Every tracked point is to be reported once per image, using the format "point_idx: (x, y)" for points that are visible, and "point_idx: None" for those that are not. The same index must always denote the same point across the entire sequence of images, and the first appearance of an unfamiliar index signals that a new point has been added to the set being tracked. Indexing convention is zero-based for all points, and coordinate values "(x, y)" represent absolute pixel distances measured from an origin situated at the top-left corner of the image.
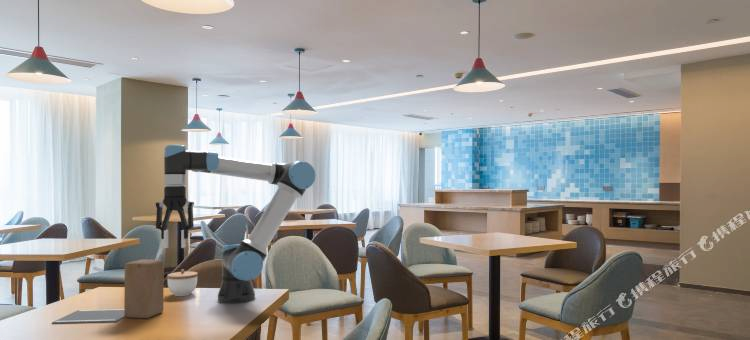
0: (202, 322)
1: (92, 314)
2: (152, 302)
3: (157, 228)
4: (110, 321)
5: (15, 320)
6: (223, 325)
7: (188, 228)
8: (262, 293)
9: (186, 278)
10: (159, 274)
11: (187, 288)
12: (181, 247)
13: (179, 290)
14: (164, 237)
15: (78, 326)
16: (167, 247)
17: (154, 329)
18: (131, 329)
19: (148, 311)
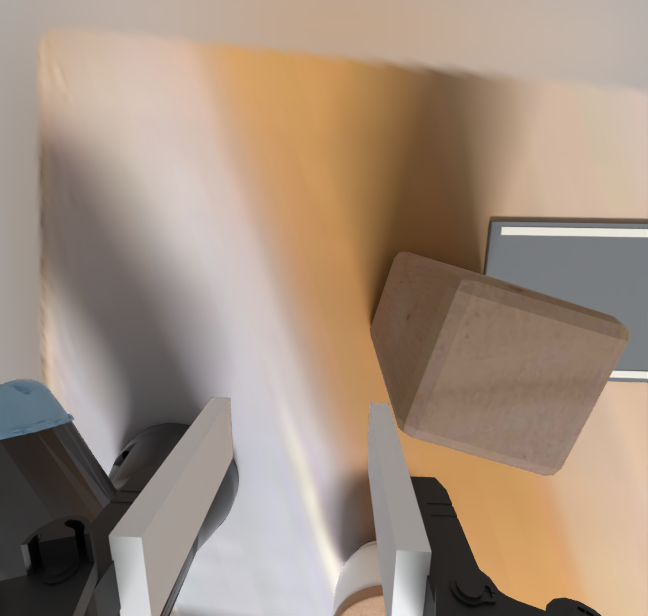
0: (195, 184)
1: None
2: (395, 280)
3: (568, 605)
4: (512, 222)
5: None
6: (112, 135)
7: (17, 586)
8: None
9: (360, 590)
10: (398, 356)
11: (356, 557)
12: (227, 399)
13: None
14: (399, 471)
15: (606, 180)
16: (368, 443)
17: (328, 108)
18: (408, 117)
19: (398, 256)
